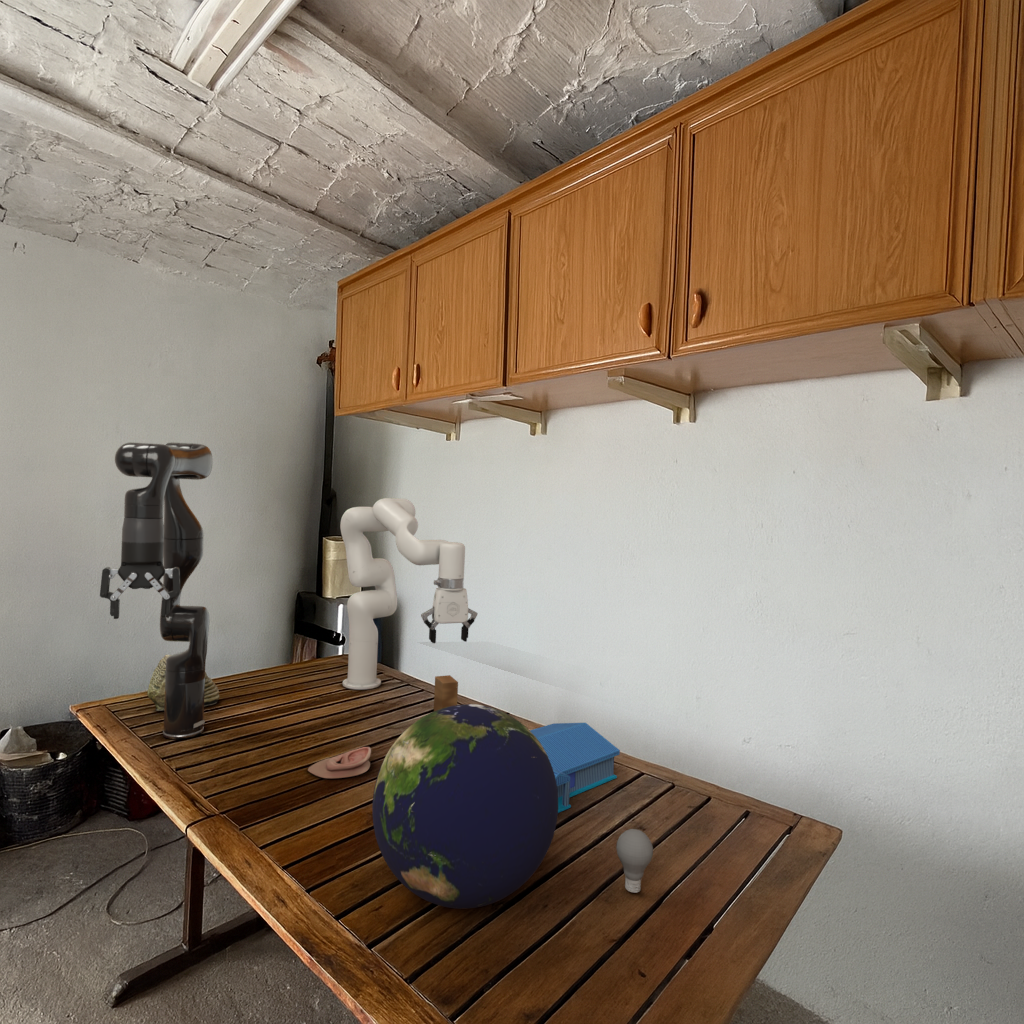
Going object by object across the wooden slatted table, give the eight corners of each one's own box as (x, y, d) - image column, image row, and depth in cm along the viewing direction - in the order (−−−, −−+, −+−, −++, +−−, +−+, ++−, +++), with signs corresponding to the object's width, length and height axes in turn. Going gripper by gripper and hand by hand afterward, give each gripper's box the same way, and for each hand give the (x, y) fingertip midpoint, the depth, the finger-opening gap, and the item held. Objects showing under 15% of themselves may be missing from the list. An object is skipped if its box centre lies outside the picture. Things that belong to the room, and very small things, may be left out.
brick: (441, 718, 184) (442, 683, 184) (433, 710, 191) (435, 676, 191) (456, 717, 186) (458, 682, 186) (448, 709, 193) (449, 675, 193)
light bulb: (610, 879, 108) (613, 822, 108) (644, 879, 109) (647, 822, 109) (619, 902, 102) (622, 840, 102) (655, 901, 103) (658, 840, 103)
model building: (501, 837, 120) (504, 785, 120) (427, 790, 139) (429, 744, 138) (628, 782, 147) (630, 739, 147) (552, 748, 165) (553, 710, 165)
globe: (328, 919, 95) (336, 721, 95) (427, 827, 123) (434, 674, 122) (512, 985, 84) (522, 760, 83) (576, 867, 112) (584, 698, 111)
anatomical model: (301, 757, 143) (326, 739, 154) (300, 775, 143) (325, 755, 154) (355, 765, 140) (377, 746, 152) (355, 783, 140) (376, 762, 152)
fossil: (144, 707, 182) (145, 655, 182) (212, 696, 194) (213, 647, 194) (151, 716, 175) (153, 662, 175) (221, 703, 188) (223, 653, 188)
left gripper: (99, 540, 125) (96, 622, 125) (180, 541, 131) (178, 619, 131) (105, 537, 131) (103, 615, 132) (182, 538, 137) (180, 613, 138)
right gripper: (426, 586, 181) (424, 646, 181) (482, 585, 188) (480, 642, 188) (419, 582, 187) (416, 640, 188) (473, 581, 195) (471, 637, 195)
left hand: (140, 617), depth 131 cm, fingers open, 8 cm apart
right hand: (448, 641), depth 188 cm, fingers open, 9 cm apart
